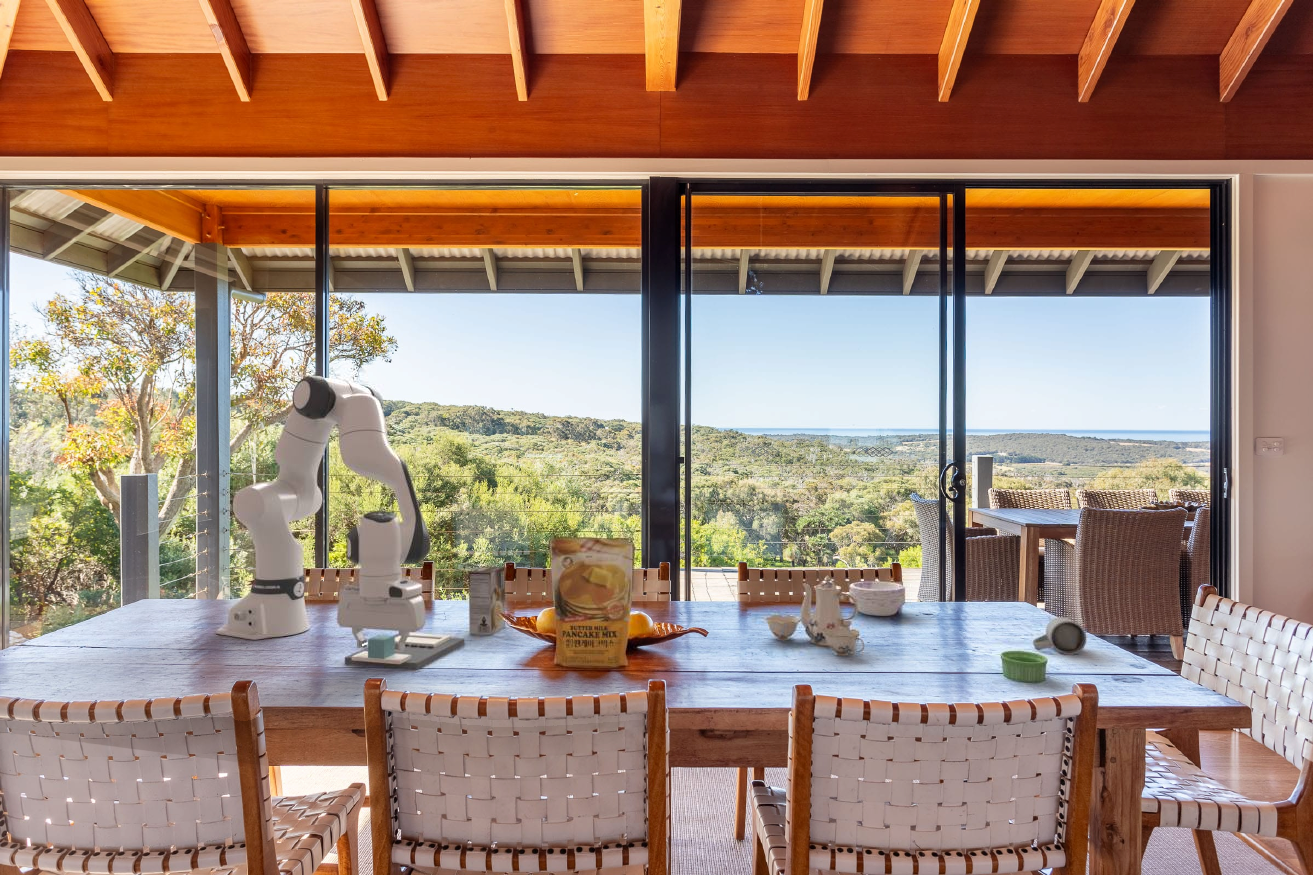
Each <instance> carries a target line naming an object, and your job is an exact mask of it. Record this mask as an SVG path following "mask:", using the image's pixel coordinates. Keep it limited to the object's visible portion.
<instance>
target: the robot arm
mask: <svg viewBox="0 0 1313 875" xmlns="http://www.w3.org/2000/svg"><path fill="white" fill-rule="evenodd" d="M292 393H293V394H292V405H293V407H292V409H291V411H290V413H289V415H288V417H287V419H286V421H285V423H284V426H283V428H282V431H281V432H280V433H281V434H280V436H279V439H278V440H277V443H276V445H275V449H274V451H273V458H274V460H275V462H276V463H277V464H278V465H279V470H278V471H279V472H278V473H279V474H278V477H277V479H276V480H275V481H263V482H256V483H253V484H251V485H250V484H249V485H247V486H246V487H243V488H241V489H239V490H238V491H237V492H236V494H235V495H234V497H233V501H232V510H233V513H234V516H235V517H236V519H237V520H238V521H239V522H240V523H242V524H243V525H244V526H245V527H246V529H247V530H248V533H249V534H250V536H251V538H252V542H253V545H254V549H255V550H254V552H255V575H256V576H255V578H253V579H252V580H248V581H246V583H247V584H246V586H247V587H248V586H251V588H250V591H249V593H248V594H246V595H245V596H244V597H243V598H241V599H240V600H239V601H238V602H237V603H235V604H234V605H232V607H230V609H229V612H228V614H227V624H226V625H223V626H221V627H219V628H218V629H217V630H216V634H218V635H223V636H228V637H236V638H241V639H247V640H255V641H256V640H262V639H268V638H278V637H284V636H287V637H288V636H291V635H296V634H300V633H303V632H306V631H308V630H310V629H311V625H310V621H309V618H308V614H307V608H306V603H305V602H306V601H305V590H306V575H305V574H304V546H303V545H302V543H301V542H300V541H299V540H298V539H296V538H295V537H294V535H293V533H292V529H291V527H290V523H291V522H297V521H302V520H304V519H307V518H309V517H311V516H313V515H315V514H317V512H319V510H320V508H321V507H322V503H323V495H322V494H323V493H322V491H321V488H320V487H319V486H318V470H319V467H320V464H321V461H322V458H323V456H324V453H325V451H326V447H327V445H328V443H329V440H330V437H331V433H332V431H333V428H334V426H336V425H337V426H338V445H339V453H340V458H341V461H342V462H343V464H344V465H345V466H346V467H347V468H348V469H349V470H350V471H351V472H352V473H355V474H357V475H359V476H361V477H364V478H368V479H371V480H374V481H378V482H380V483H382V484H384V485H386V486H387V487H389V488H390V489H391V490H392V491H393V493H394V495H395V500H396V502H397V506H398V509H399V513H400V517H401V521H399V517H398V515H397V514H395V513H394V512H391V511H386V510H376V511H374V510H373V511H370V512H367V513H365V514H363V515H362V517H361V520H360V524H359V525H358V524H357V525H355V526H354V527H352V528H351V529H350V530H349V531H348V532H347V533H346V535H345V536H346V539H345V540H346V556H345V557H346V559H347V560H348V561H350V562H351V563H352V564H353V565H356V566H360V568H359V573H358V580H359V581H358V584H349V583H348V584H345V585H344V586H342V587H341V588H340V589H339V593H338V597H339V599H338V600H339V601H338V606H337V612H336V614H337V616H336V622H337V624H338V625H339V627H341V628H351V633H352V635H353V636H354V638H355V640H356V648H357V649H365V648H368V638H365V636H364V634H363V632H362V631H364V629H366V630H377V631H378V630H380V631H381V630H382V631H394V632H398V634H399V636H401V638H400V640H399V641H398V642H396V643H395V651H403V650H404V649H405V641H406V640H407V638H408V636H409V634H410V633H417V632H418V631H420V630H422V629H423V628H424V626H425V625H426V606H425V605H426V604H425V601H424V599H423V596H421V595H420V594H421V593H422V592H423V585H422V584H421V583H419V582H417V581H415V580H412V579H410V578H407V577H405V576H403V571H402V570H403V569H402V567H401V564H402V565H418V564H419V563H421V562H422V561H423V560H424V559H425V558H426V557H427V556H428V555H429V553H430V552H431V542H432V541H431V537H430V533H429V531H428V530H429V529H428V528H427V525H426V523H425V519H424V517H423V515H422V512H421V507H420V504H419V501H418V497H417V494H416V491H415V487H414V484H413V480H412V478H411V475H410V471H409V469H408V468H409V467H408V465H407V464H406V462H405V460H404V458H402V457H401V456H398V455H397V454H396V453H395V451H394V450H393V449H392V447H391V443H390V441H389V436H388V428H387V422H386V418H385V413H384V411H383V410H384V401H383V397H382V395H381V394H380V393H379V392H378V391H377V390H376V389H374V388H371V387H369V386H366V385H365V386H363V385H361V384H358V383H354V382H351V381H349V380H341V379H337V378H335V379H334V378H328V377H323V376H321V375H307V376H304V377H302V378H301V379H299V381H298V382H297V383H296V385H295V387H294V389H293V392H292Z"/></svg>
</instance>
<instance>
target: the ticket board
mask: <svg viewBox="0 0 1313 875" xmlns="http://www.w3.org/2000/svg"><path fill="white" fill-rule="evenodd" d="M394 636H395V643H396V642H398V641H399V640H400V638H401V636H399V633H397V634H395V635H394ZM465 642H466V641H465V638H461V637H459V638H458V637H452V635H449V634H447V635H446V634H435V633H434V634H433V633H421V632H410V634H409V636H408V638H407V640H406V641H405V649H404V650H403V651H395V654H405V655H411V659H409V660H407V661H405V662H403V663H401V664H391V663H379V662H367V661H355V660H352V656H354V655H356V654H359V653H361V652H363V651H368V647H365V648H362V649H361V650H359V651H355V652H354V653H352V654H350V655H346V656H345V657H344V664H345V665H351V666H352V665H354V666H361V667H362V666H363V667H364V666H365V667H375V668H376V667H377V668H387V669H388V668H389V669H398V668H400V669H401V670H412V671H418V670H420V669H422V668H424V667H425V666H427V665H429V664H431V663H433V662H435V661H437V660H439V659H441V658H443V657H444V656H446V655H448V654H450V653H452V652H454V651H455V650H457V649H460V648H461V647H464V646H466V645H465ZM453 650H454V651H453Z"/></svg>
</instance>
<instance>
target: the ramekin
mask: <svg viewBox="0 0 1313 875" xmlns="http://www.w3.org/2000/svg"><path fill="white" fill-rule="evenodd" d="M1000 659H1001V665H1002V674H1003V676H1004V677H1005V678H1007V679H1008V680H1009V679H1010V680H1013V681H1014V682H1015V681H1016V682H1020V683H1021V682H1022V683H1030V684H1032V683H1035V684H1036V683H1041V682H1043V681H1044V680H1045V679H1046V674H1047V672H1046V671H1047V664H1048V660H1049V658H1047V657H1046V656H1045V655H1043V654H1040V653H1037V652H1032V651H1024V650H1008V651H1002V652H1001V653H1000Z"/></svg>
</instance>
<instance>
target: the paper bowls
mask: <svg viewBox="0 0 1313 875" xmlns="http://www.w3.org/2000/svg"><path fill="white" fill-rule="evenodd" d="M905 588H906V587H905V585H902V584H901V583H895V582H888V581H858V582H852V583H850V584H849V594H851V595H852V596H853V597H854V598H855V599H856V601H857V603H858V611H859V612H860V613H861V614H863V615H868V616H875V617H889V616H893V615H895V614H896V613H897V612H898V609H899V607H901V606H902V607H903V606H904V605H905V604H906V589H905ZM849 602H850V603H851V604H854V602H853V600H852V599H851V598H850V597H849Z"/></svg>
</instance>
